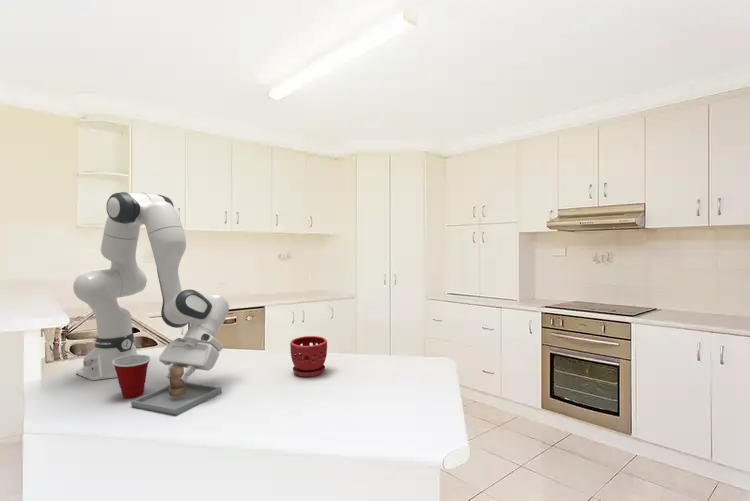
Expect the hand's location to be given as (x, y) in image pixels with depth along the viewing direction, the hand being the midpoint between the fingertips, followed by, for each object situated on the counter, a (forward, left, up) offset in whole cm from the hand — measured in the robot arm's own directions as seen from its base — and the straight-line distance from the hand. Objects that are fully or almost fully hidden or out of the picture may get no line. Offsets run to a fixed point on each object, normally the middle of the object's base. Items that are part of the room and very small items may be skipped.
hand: (175, 379), depth 133 cm
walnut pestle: (0, +1, -5) cm, 5 cm away
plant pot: (+26, +36, -7) cm, 45 cm away
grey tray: (0, +1, -7) cm, 7 cm away
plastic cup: (-17, -1, -7) cm, 19 cm away
